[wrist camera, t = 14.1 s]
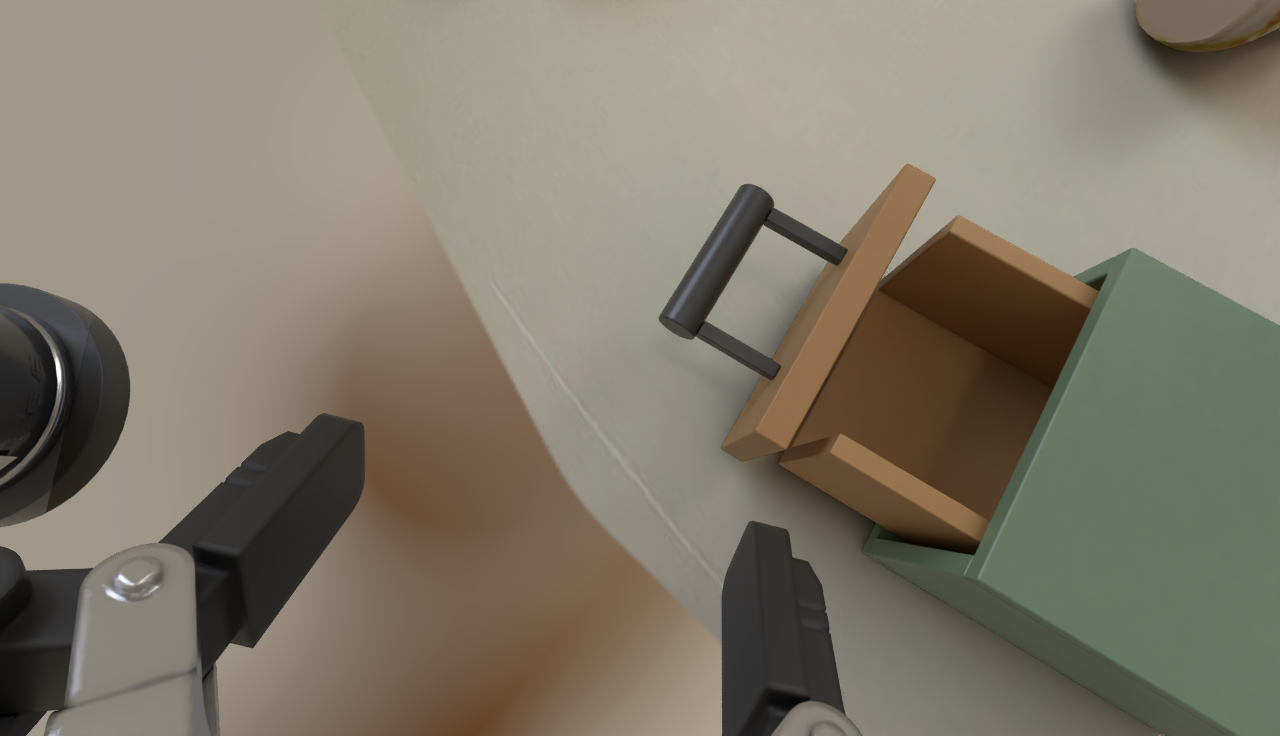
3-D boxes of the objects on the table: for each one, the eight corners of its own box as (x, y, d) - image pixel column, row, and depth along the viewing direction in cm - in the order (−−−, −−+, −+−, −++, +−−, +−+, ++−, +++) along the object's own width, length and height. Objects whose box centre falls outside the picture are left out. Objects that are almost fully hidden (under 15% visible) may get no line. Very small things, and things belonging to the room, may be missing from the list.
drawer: (625, 391, 29) (624, 354, 21) (746, 196, 31) (786, 96, 23) (990, 611, 27) (1134, 657, 19) (1092, 389, 29) (1259, 352, 21)
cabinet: (860, 551, 28) (976, 580, 19) (977, 322, 30) (1133, 245, 21) (1159, 732, 27) (1444, 860, 18) (1258, 479, 29) (1557, 473, 20)
